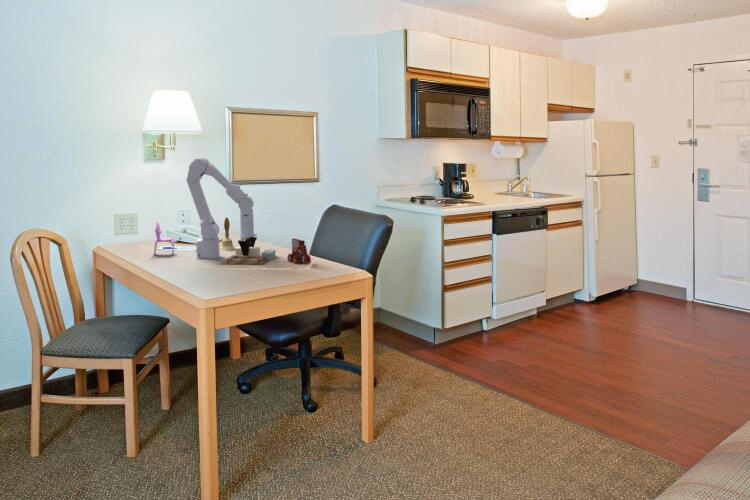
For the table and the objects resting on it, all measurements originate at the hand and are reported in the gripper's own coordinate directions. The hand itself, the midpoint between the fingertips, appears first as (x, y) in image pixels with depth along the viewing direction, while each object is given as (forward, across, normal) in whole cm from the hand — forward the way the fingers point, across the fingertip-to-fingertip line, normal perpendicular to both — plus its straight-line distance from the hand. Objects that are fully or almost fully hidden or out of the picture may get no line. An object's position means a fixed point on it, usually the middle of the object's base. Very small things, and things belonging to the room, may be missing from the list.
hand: (248, 254), depth 261 cm
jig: (+2, -8, -2) cm, 8 cm away
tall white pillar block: (+1, 0, 0) cm, 1 cm away
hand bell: (+2, +18, +15) cm, 24 cm away
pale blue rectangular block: (+1, -3, -10) cm, 10 cm away
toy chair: (+2, +6, +41) cm, 41 cm away
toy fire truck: (+2, -10, -25) cm, 27 cm away
